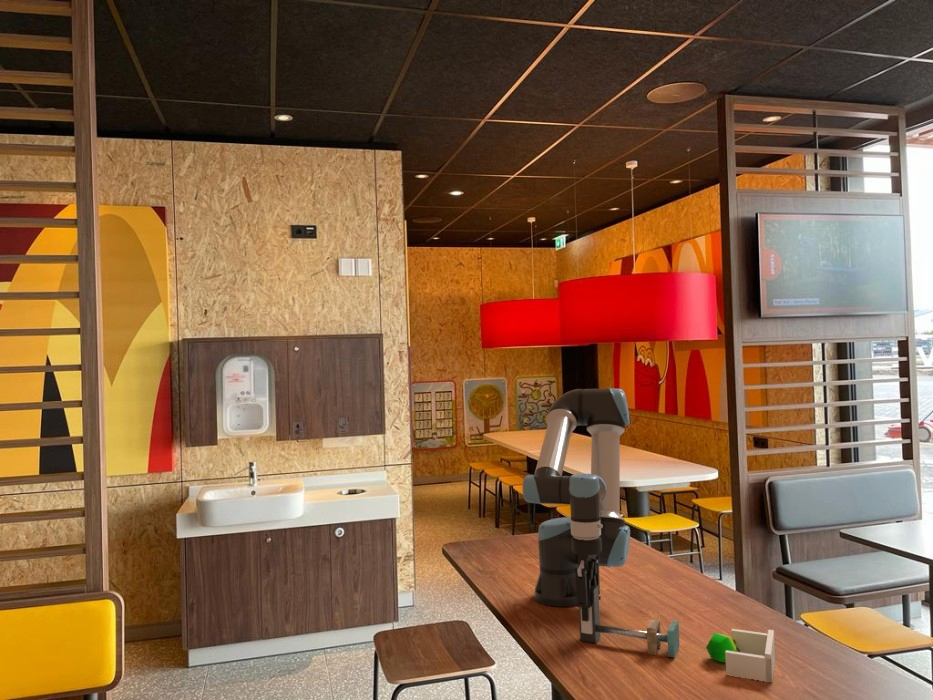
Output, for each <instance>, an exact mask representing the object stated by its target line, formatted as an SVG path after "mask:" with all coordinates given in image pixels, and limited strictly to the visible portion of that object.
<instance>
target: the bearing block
mask: <svg viewBox="0 0 933 700" xmlns="http://www.w3.org/2000/svg"><path fill="white" fill-rule="evenodd" d="M646 632H647V655H653V656H657V655H658V653H659V652H658V649H661V647H662V642H659V641H657V633H660V634H662V633H661V620H657V619H650V622H649V623H648V625H647V627H646Z"/></svg>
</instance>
